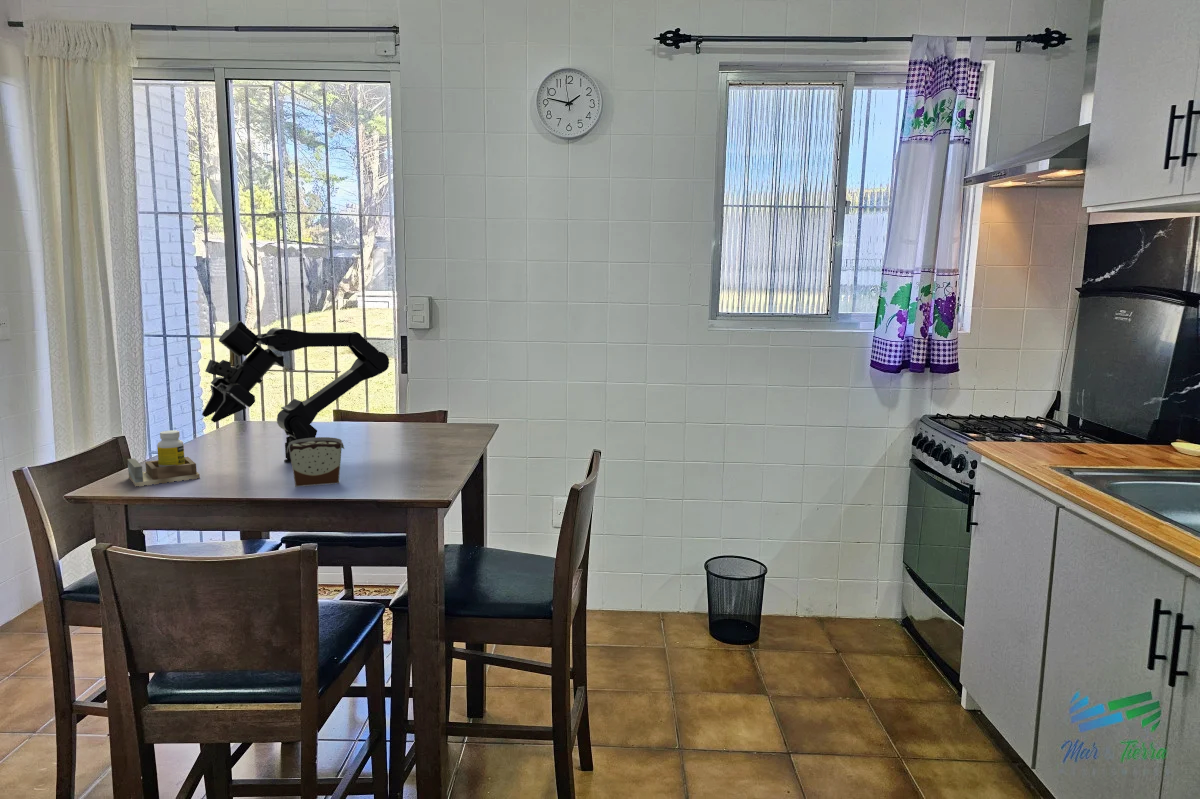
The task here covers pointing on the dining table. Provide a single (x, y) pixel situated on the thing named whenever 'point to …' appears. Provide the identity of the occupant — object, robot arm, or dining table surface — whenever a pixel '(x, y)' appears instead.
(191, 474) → the wooden display tray
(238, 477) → the dining table surface
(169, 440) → the supplement bottle
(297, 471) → the food container
